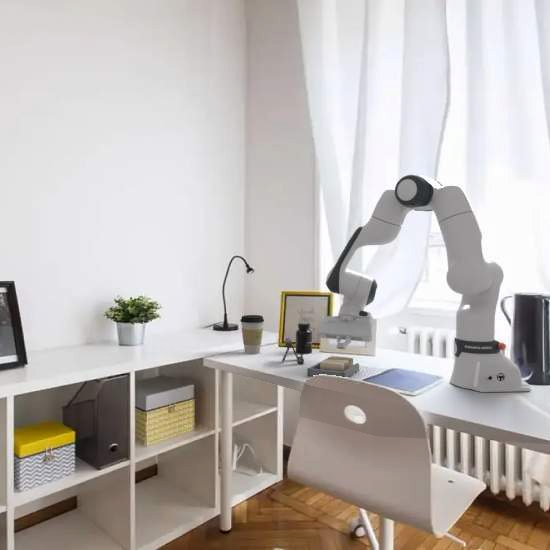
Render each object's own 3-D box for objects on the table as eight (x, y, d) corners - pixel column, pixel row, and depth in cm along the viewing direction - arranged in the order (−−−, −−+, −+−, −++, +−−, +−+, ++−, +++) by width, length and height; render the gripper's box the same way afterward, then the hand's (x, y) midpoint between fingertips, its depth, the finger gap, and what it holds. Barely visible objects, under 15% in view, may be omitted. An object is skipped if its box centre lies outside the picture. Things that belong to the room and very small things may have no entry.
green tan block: (331, 355, 175) (320, 361, 165) (353, 357, 171) (342, 364, 161) (331, 365, 175) (320, 372, 165) (353, 368, 171) (342, 375, 162)
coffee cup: (268, 353, 198) (268, 316, 198) (247, 356, 193) (246, 318, 193) (257, 349, 207) (257, 314, 206) (236, 351, 202) (236, 315, 201)
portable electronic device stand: (303, 364, 179) (303, 342, 178) (282, 364, 179) (282, 342, 178) (302, 359, 187) (302, 338, 187) (281, 359, 187) (281, 338, 187)
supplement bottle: (311, 354, 196) (311, 324, 196) (294, 353, 198) (294, 324, 197) (313, 351, 203) (313, 322, 203) (297, 350, 205) (296, 322, 204)
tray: (359, 370, 169) (359, 363, 169) (344, 380, 156) (344, 373, 156) (324, 366, 175) (324, 359, 175) (307, 376, 162) (307, 368, 162)
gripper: (321, 310, 182) (311, 340, 174) (375, 313, 173) (366, 345, 165) (325, 320, 187) (315, 350, 178) (378, 324, 177) (370, 356, 169)
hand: (340, 348), depth 171 cm, fingers closed
